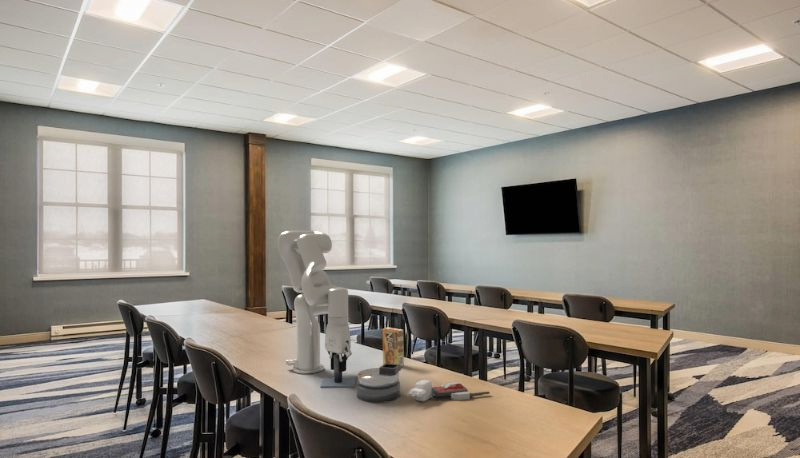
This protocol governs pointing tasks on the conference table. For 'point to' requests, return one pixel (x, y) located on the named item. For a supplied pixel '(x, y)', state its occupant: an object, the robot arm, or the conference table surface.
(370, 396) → the base
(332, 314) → the robot arm
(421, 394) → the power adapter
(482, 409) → the conference table surface
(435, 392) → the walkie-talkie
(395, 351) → the candy box
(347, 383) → the key mat
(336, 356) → the chuck key
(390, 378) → the collar
